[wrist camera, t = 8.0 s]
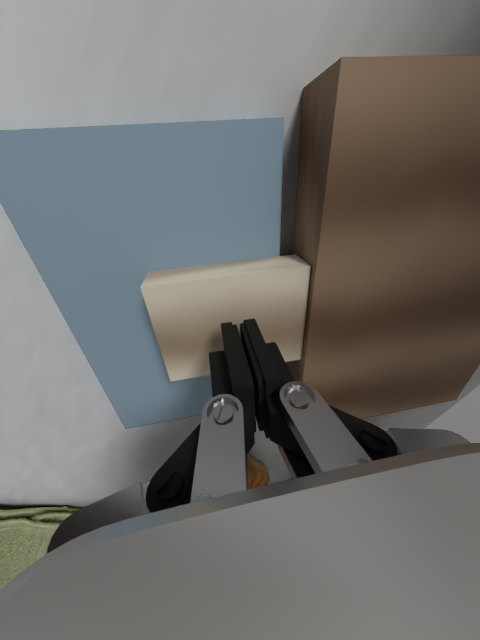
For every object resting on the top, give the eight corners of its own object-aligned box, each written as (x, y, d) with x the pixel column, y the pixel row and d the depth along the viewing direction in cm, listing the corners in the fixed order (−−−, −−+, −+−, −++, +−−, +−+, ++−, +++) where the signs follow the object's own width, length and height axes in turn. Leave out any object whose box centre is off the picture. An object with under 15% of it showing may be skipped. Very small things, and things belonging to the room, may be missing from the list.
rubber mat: (-26, 134, 9) (-38, 132, 8) (279, 120, 10) (283, 117, 10) (127, 422, 18) (125, 428, 18) (272, 395, 20) (275, 400, 19)
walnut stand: (303, 88, 10) (341, 56, 7) (576, 79, 11) (687, 51, 9) (283, 400, 20) (296, 432, 18) (425, 374, 22) (455, 399, 19)
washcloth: (132, 498, 26) (125, 535, 23) (93, 559, 32) (84, 593, 30) (-19, 490, 21) (-52, 537, 18) (-28, 564, 27) (-52, 607, 25)
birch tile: (147, 271, 12) (140, 287, 10) (295, 254, 13) (310, 266, 11) (173, 358, 15) (170, 381, 13) (290, 340, 16) (301, 359, 14)
